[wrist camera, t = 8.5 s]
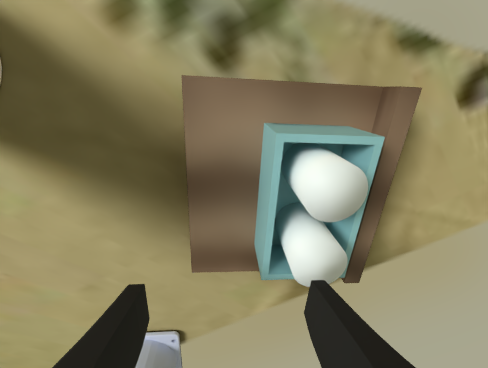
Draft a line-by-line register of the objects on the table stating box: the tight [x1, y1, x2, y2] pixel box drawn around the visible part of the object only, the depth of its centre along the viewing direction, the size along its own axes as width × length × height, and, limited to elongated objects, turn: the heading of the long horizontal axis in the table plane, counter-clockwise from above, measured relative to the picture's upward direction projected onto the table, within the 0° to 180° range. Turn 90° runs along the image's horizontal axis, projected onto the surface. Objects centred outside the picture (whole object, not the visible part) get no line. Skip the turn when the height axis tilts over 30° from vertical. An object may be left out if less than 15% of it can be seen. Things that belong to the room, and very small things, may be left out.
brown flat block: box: [182, 75, 422, 283], centre depth 16 cm, size 14×13×4 cm
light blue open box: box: [254, 123, 385, 287], centre depth 13 cm, size 9×5×5 cm, turn 177°
